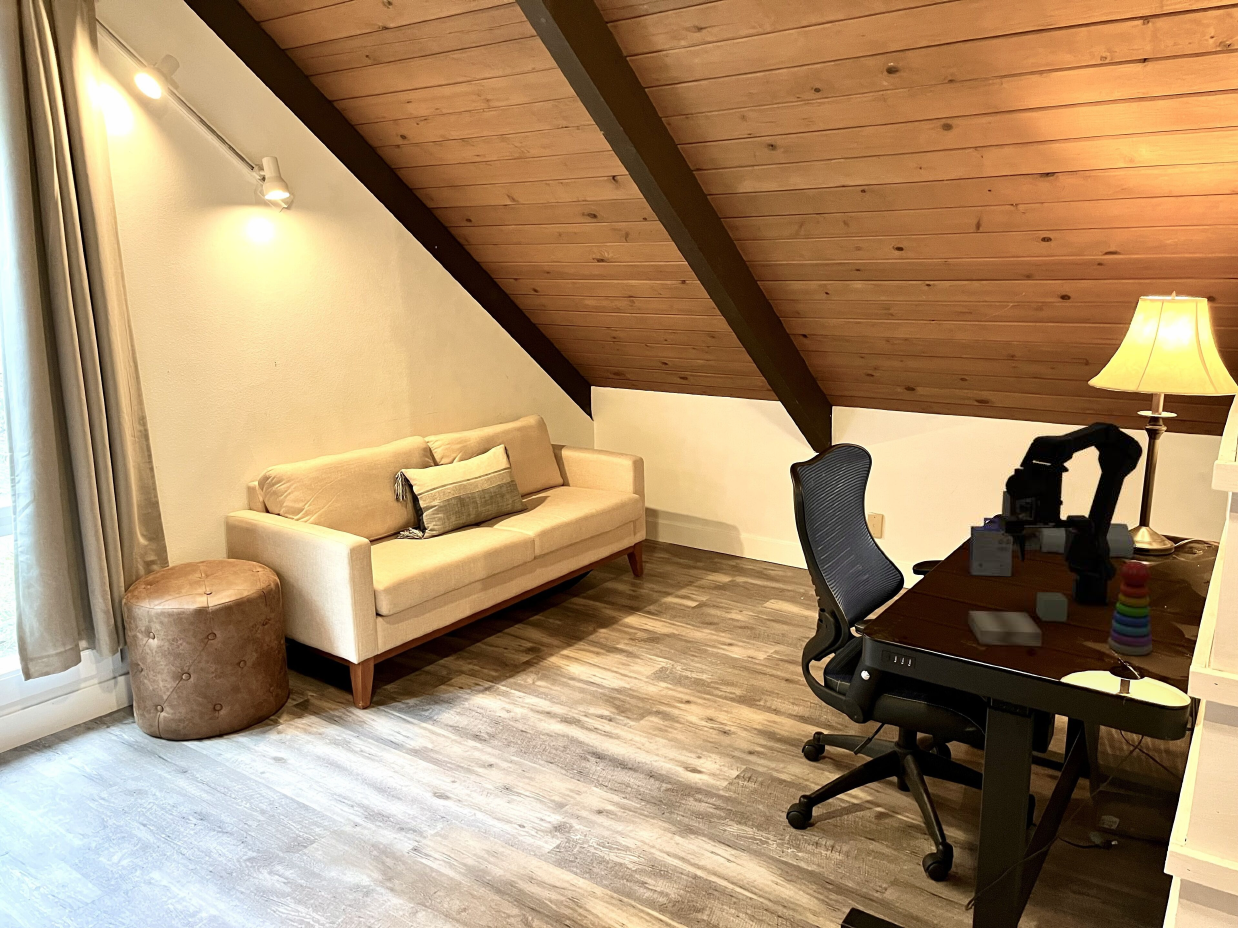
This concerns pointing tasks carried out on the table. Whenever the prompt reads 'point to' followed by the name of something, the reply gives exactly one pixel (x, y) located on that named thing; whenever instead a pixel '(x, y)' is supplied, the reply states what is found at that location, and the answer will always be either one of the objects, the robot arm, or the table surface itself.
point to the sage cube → (1051, 606)
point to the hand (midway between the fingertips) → (1043, 561)
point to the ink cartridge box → (990, 550)
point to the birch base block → (1004, 628)
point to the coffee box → (1010, 510)
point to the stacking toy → (1132, 612)
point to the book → (1117, 539)
